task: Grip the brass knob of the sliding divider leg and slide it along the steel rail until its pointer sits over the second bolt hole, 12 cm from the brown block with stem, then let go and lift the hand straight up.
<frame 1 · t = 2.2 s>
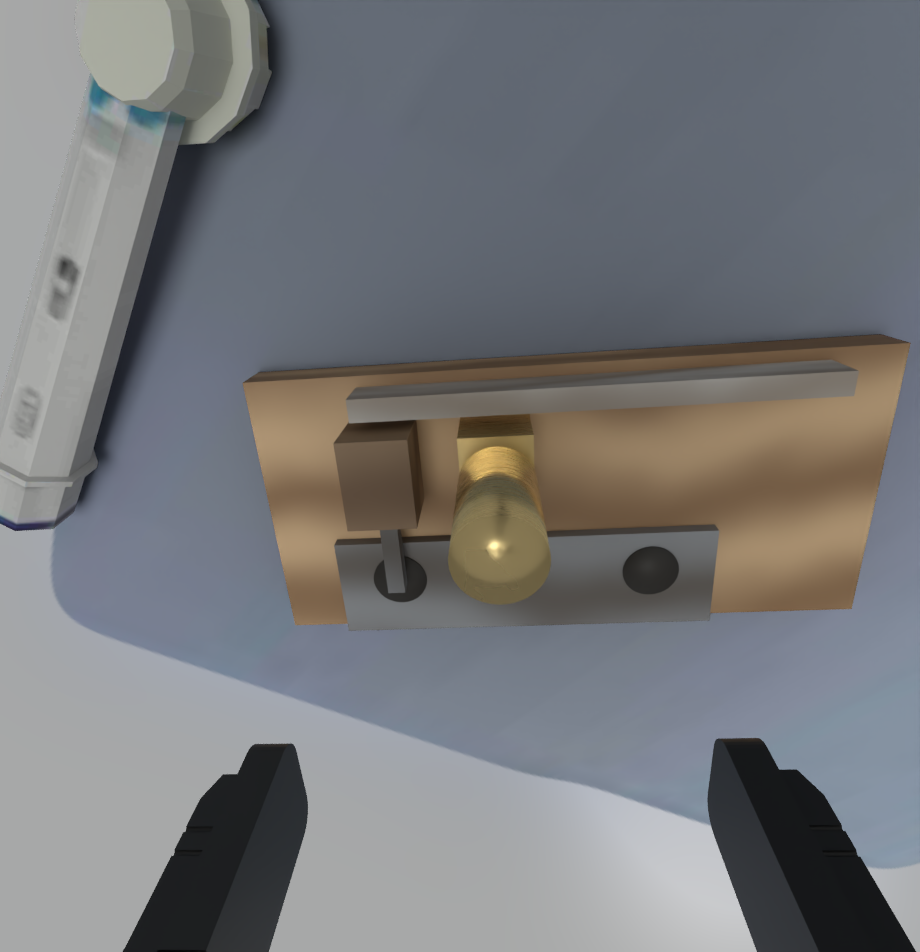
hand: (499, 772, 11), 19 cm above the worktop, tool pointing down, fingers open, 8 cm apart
layout board: (559, 484, 30), on the worktop
brown block with stem: (387, 460, 27), resting on layout board
sliding divider leg: (500, 545, 23), point 7 cm above the worktop, slide at 5.0 cm
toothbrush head: (134, 277, 27), on the worktop
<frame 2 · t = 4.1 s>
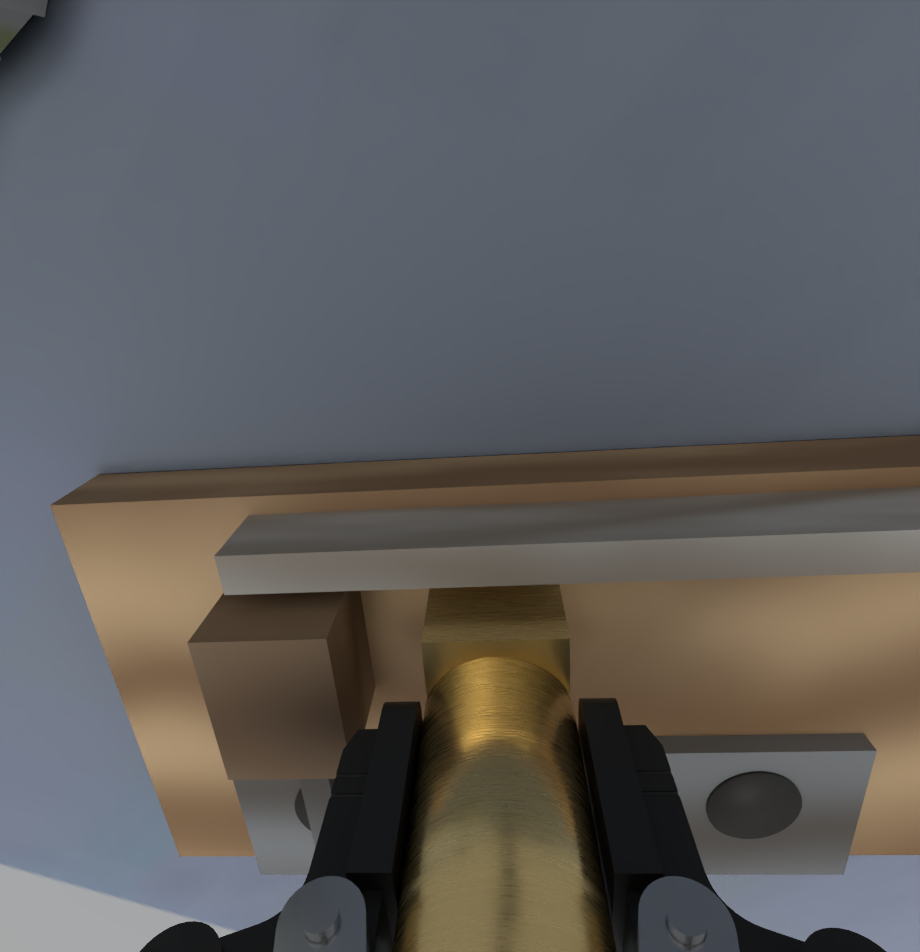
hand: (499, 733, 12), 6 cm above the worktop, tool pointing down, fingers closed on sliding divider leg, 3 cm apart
layout board: (597, 648, 18), on the worktop
brown block with stem: (311, 629, 16), resting on layout board
sliding divider leg: (504, 848, 12), point 7 cm above the worktop, slide at 5.0 cm, touching gripper
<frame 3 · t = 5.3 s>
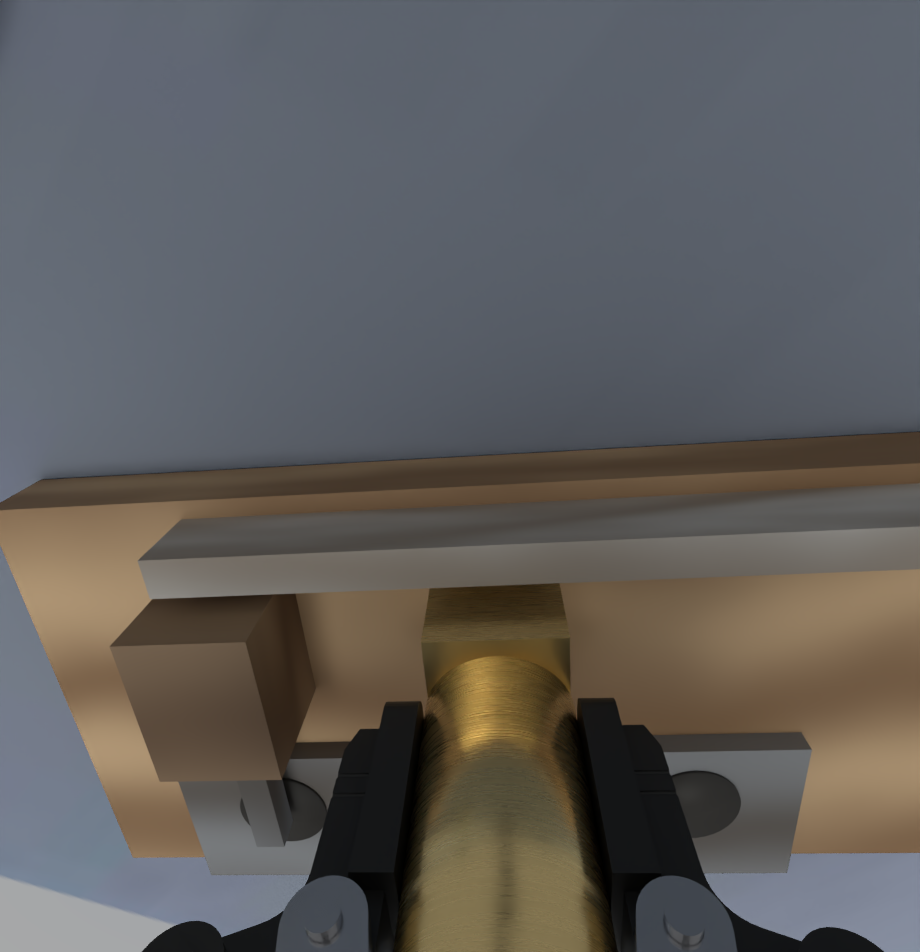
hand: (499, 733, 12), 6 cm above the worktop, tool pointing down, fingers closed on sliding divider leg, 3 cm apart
layout board: (542, 649, 18), on the worktop
brown block with stem: (249, 632, 16), resting on layout board
sliding divider leg: (505, 847, 12), point 7 cm above the worktop, slide at 6.8 cm, touching gripper
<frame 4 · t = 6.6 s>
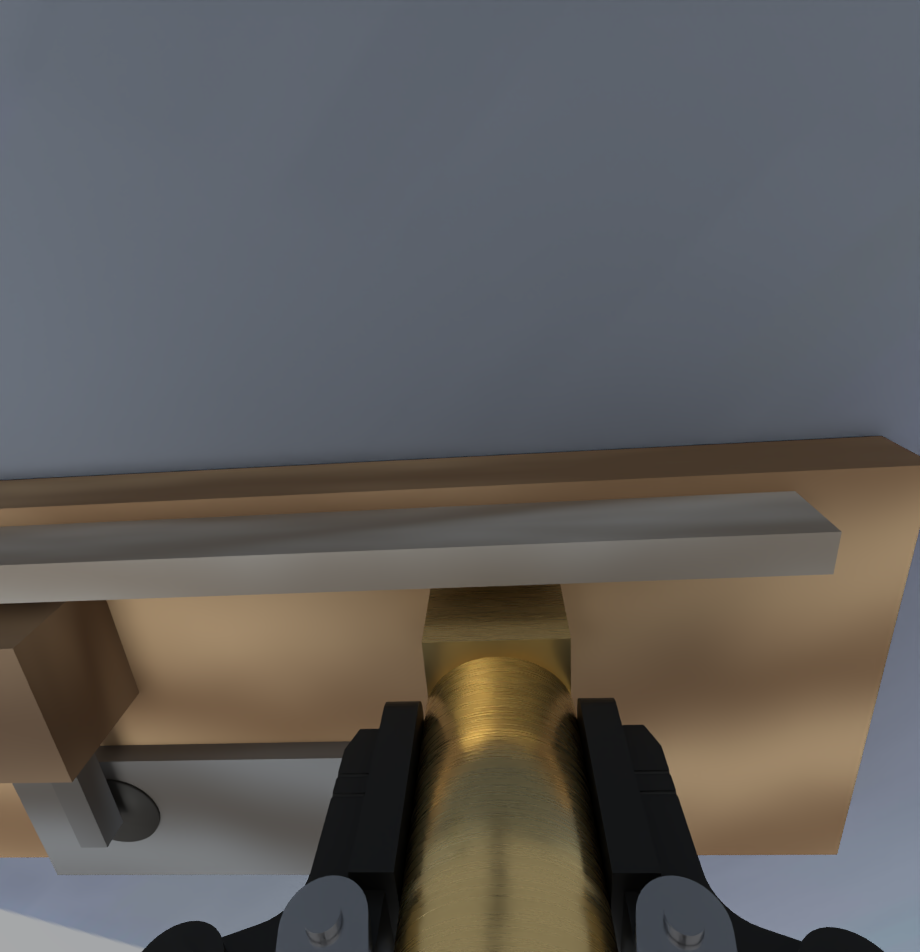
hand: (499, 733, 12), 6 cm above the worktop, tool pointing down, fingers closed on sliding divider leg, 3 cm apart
layout board: (375, 654, 19), on the worktop
brown block with stem: (67, 637, 17), resting on layout board
sliding divider leg: (505, 848, 12), point 7 cm above the worktop, slide at 11.9 cm, touching gripper
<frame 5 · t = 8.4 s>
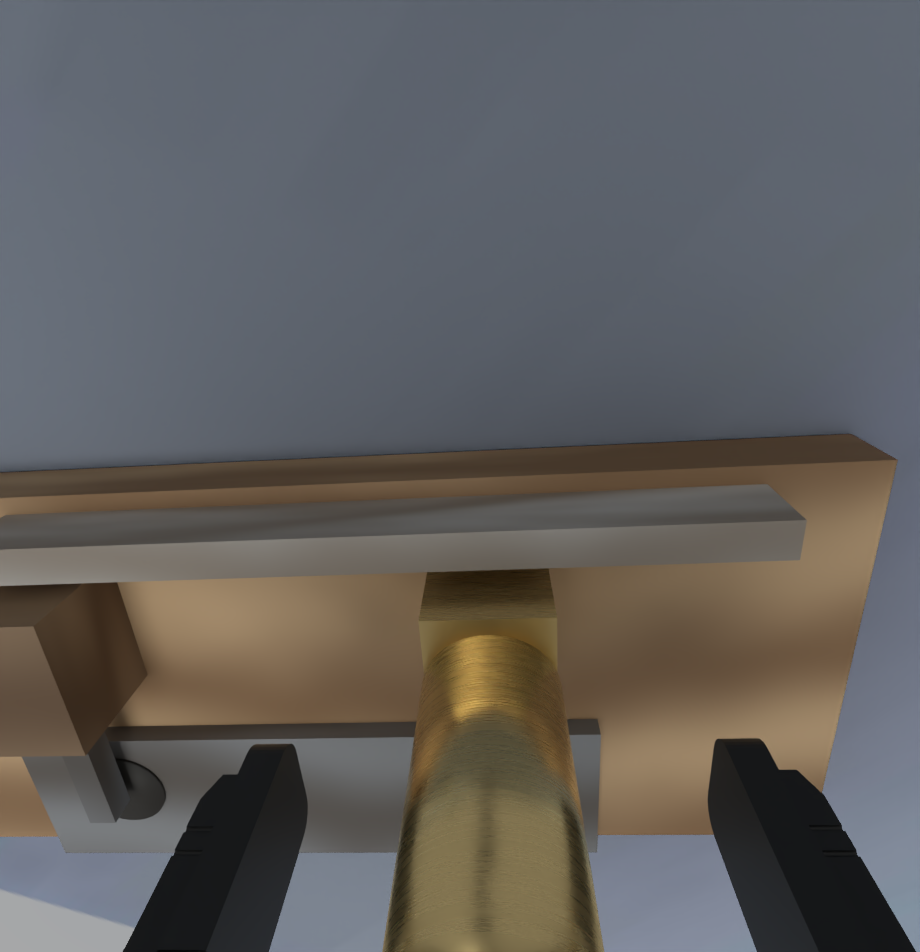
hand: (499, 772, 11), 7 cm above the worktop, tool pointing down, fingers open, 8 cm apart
layout board: (373, 641, 20), on the worktop
brown block with stem: (80, 621, 17), resting on layout board
sliding divider leg: (495, 813, 13), point 7 cm above the worktop, slide at 12.0 cm
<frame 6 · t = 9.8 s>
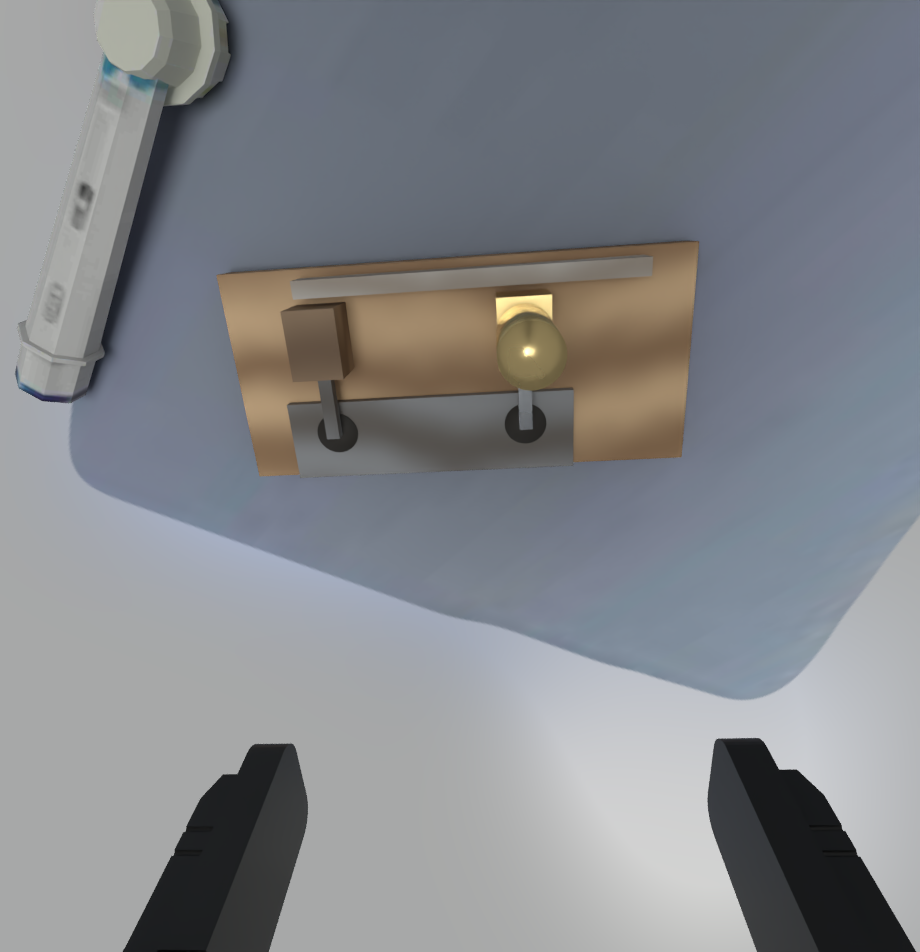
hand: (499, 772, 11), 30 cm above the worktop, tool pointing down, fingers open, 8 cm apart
layout board: (460, 363, 39), on the worktop
brown block with stem: (325, 337, 36), resting on layout board
sliding divider leg: (527, 376, 32), point 7 cm above the worktop, slide at 12.0 cm
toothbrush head: (132, 209, 36), on the worktop
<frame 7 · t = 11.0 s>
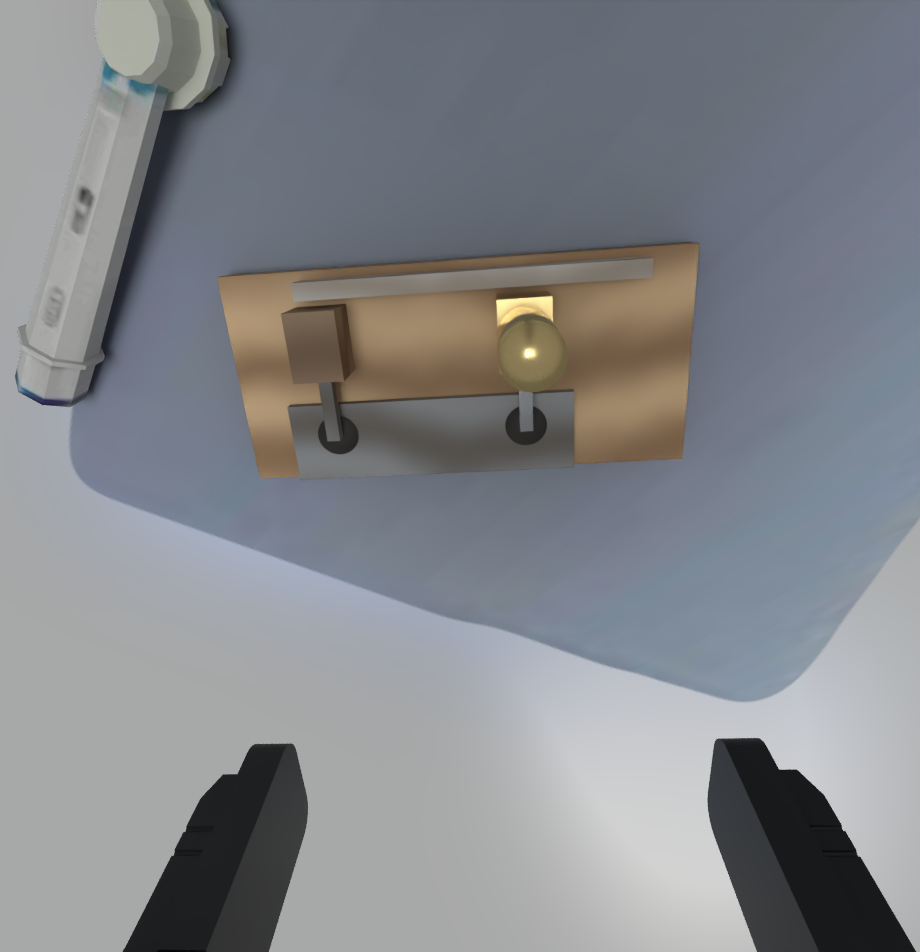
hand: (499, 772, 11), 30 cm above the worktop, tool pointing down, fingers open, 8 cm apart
layout board: (460, 364, 39), on the worktop
brown block with stem: (326, 339, 36), resting on layout board
sliding divider leg: (527, 378, 32), point 7 cm above the worktop, slide at 12.0 cm
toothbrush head: (132, 213, 37), on the worktop
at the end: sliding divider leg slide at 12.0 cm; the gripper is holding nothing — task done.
